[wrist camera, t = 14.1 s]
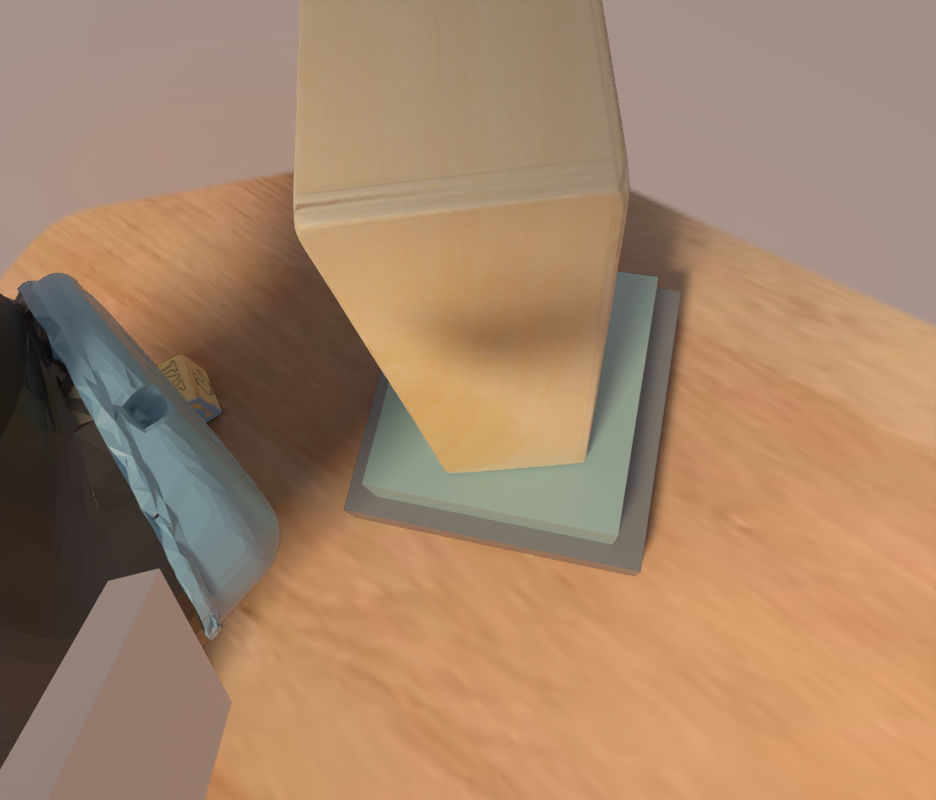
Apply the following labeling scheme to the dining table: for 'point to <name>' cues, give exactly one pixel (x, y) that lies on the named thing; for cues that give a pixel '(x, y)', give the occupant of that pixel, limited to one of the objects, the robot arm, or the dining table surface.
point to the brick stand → (548, 487)
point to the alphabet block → (192, 385)
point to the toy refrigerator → (468, 210)
